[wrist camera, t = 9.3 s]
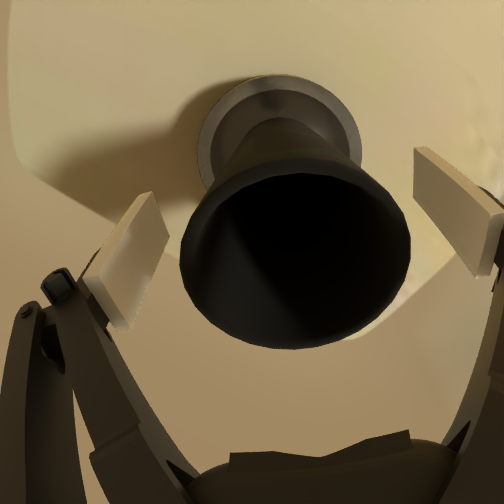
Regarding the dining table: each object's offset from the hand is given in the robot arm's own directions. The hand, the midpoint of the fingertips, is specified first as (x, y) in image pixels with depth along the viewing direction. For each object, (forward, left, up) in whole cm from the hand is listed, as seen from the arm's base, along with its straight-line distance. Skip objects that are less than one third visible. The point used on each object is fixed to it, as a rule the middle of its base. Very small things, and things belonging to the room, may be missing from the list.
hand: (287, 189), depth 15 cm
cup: (0, 0, -6) cm, 6 cm away
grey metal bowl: (0, 0, -9) cm, 9 cm away
